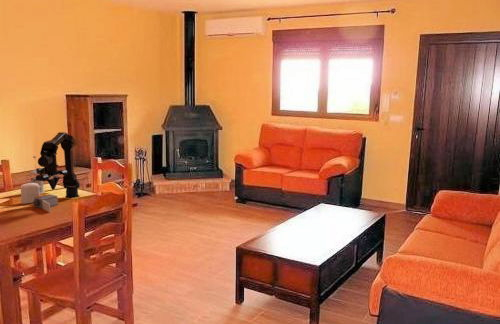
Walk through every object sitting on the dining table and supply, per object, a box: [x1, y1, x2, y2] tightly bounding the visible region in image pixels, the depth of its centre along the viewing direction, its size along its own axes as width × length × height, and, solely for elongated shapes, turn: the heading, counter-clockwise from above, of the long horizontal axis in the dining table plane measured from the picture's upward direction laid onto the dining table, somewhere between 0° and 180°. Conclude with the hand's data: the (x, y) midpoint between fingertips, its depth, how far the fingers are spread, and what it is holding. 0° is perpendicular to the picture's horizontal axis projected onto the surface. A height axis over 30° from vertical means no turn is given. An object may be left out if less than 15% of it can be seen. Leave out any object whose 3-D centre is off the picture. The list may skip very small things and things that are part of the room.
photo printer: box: [20, 182, 41, 205], centre depth 265 cm, size 10×4×12 cm, turn 123°
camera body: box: [32, 194, 59, 210], centre depth 259 cm, size 12×8×6 cm
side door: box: [42, 200, 51, 213], centre depth 249 cm, size 10×2×5 cm, turn 45°
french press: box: [25, 155, 46, 195], centre depth 289 cm, size 10×12×25 cm
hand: (53, 189), depth 252 cm, fingers closed
